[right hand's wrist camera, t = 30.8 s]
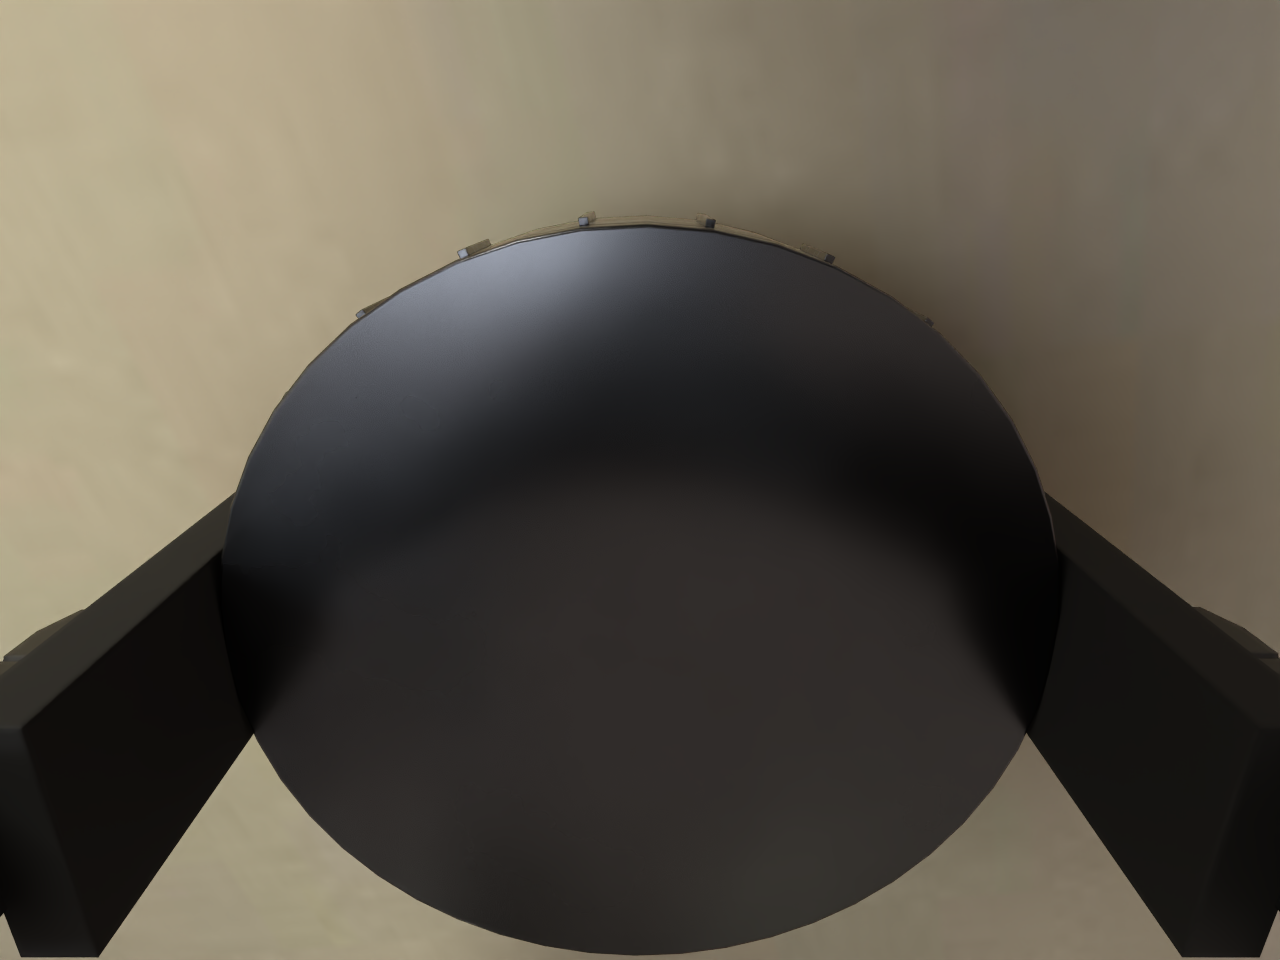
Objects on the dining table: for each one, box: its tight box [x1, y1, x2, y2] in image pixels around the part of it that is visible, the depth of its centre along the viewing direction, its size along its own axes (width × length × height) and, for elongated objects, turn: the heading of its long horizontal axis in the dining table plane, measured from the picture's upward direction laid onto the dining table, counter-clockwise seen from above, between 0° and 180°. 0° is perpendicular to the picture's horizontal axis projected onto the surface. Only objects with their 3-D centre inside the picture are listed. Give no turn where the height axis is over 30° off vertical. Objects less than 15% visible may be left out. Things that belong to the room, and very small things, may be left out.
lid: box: [220, 211, 1059, 955], centre depth 11 cm, size 11×11×2 cm
